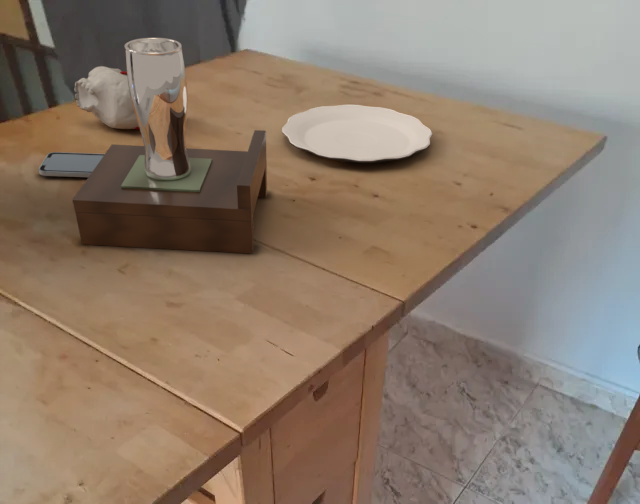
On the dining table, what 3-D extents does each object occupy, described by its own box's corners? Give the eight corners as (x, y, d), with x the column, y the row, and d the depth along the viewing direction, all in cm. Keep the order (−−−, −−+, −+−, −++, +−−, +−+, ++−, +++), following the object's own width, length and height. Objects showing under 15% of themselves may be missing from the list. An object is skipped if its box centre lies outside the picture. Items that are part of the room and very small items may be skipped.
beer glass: (204, 167, 92) (194, 42, 81) (175, 186, 87) (161, 57, 77) (161, 157, 94) (145, 34, 83) (130, 175, 89) (110, 47, 79)
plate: (308, 178, 105) (309, 166, 104) (266, 121, 122) (266, 110, 121) (455, 162, 111) (457, 151, 110) (395, 110, 129) (396, 100, 127)
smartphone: (140, 175, 102) (36, 171, 101) (141, 181, 103) (38, 177, 102) (147, 155, 107) (48, 151, 106) (147, 161, 108) (50, 157, 107)
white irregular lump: (75, 119, 118) (156, 116, 126) (99, 140, 112) (184, 135, 119) (70, 61, 113) (156, 62, 120) (95, 80, 106) (184, 79, 114)
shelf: (82, 244, 88) (66, 176, 82) (118, 185, 101) (107, 122, 95) (252, 253, 88) (250, 185, 82) (267, 193, 101) (265, 130, 95)
